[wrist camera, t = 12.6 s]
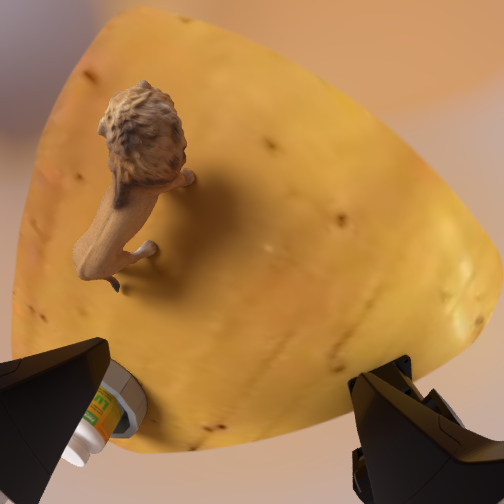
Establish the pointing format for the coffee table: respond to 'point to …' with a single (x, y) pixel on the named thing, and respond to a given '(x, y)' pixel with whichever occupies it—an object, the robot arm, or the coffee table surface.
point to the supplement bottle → (94, 428)
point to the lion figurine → (132, 178)
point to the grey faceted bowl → (125, 399)
